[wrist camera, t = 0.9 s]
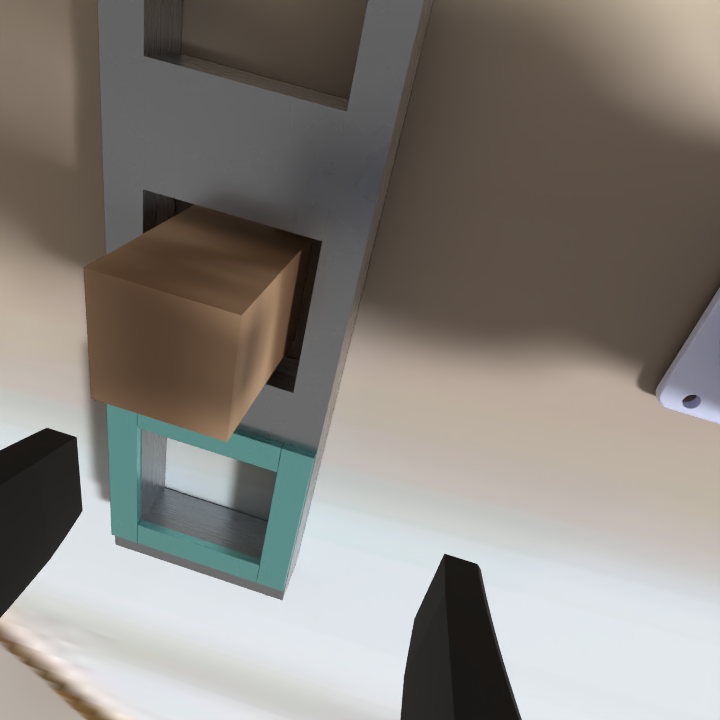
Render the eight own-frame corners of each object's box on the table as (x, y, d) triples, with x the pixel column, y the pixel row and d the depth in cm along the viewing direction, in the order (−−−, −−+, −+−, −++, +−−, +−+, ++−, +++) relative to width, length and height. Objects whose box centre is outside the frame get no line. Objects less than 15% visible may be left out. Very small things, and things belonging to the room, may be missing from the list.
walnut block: (312, 236, 18) (241, 315, 13) (294, 339, 20) (226, 441, 15) (197, 202, 18) (83, 267, 13) (191, 308, 20) (91, 399, 15)
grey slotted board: (501, -281, 11) (503, -345, 10) (295, 564, 26) (280, 605, 24) (141, -362, 12) (73, -438, 10) (139, 512, 27) (111, 549, 25)
